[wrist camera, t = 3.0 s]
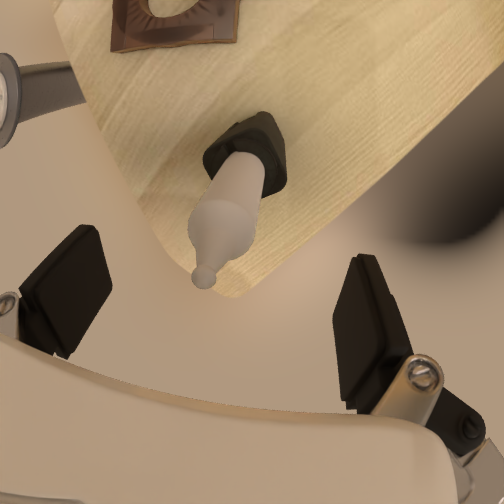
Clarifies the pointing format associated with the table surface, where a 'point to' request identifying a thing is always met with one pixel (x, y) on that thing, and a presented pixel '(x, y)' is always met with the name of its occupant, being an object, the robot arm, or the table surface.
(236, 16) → the hole plate
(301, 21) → the table surface
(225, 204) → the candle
